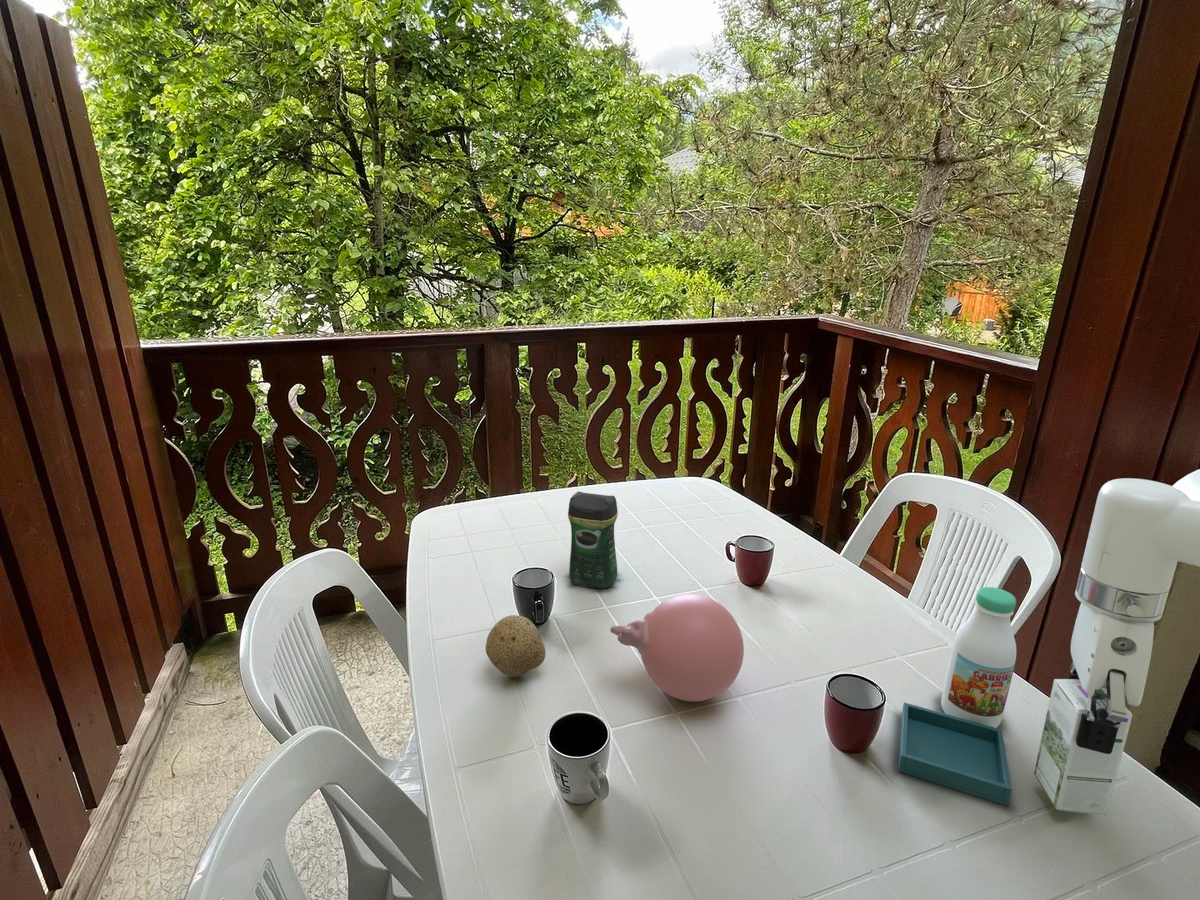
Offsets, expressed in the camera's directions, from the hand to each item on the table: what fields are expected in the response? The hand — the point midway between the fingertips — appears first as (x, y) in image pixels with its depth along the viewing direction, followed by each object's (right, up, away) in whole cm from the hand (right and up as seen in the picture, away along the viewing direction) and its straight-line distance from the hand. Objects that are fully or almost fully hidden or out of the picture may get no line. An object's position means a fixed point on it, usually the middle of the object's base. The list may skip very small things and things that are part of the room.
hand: (1085, 725), depth 74 cm
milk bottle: (-3, -7, +19) cm, 20 cm away
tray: (-10, -9, +11) cm, 17 cm away
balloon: (-45, -5, +24) cm, 52 cm away
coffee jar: (-58, +6, +55) cm, 81 cm away
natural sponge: (-71, -3, +27) cm, 76 cm away
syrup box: (0, -10, +3) cm, 10 cm away
